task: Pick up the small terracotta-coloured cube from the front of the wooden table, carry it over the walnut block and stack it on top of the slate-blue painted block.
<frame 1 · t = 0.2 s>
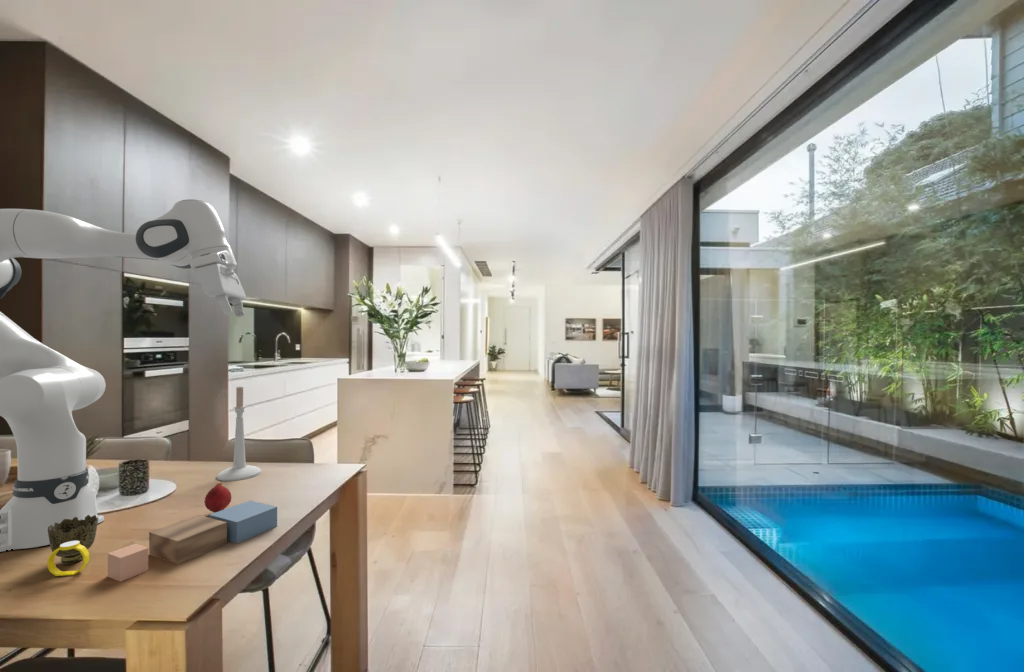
hand: (235, 315, 113), 52 cm above the table, tool tilted 20°, fingers open, 8 cm apart
cup: (73, 561, 91), on the table
candlestick: (239, 475, 148), on the table
slate-blue block: (243, 531, 105), on the table
walnut block: (189, 550, 96), on the table
onion: (218, 514, 115), on the table
watch: (68, 575, 85), on the table
terracotta cube: (128, 573, 86), on the table
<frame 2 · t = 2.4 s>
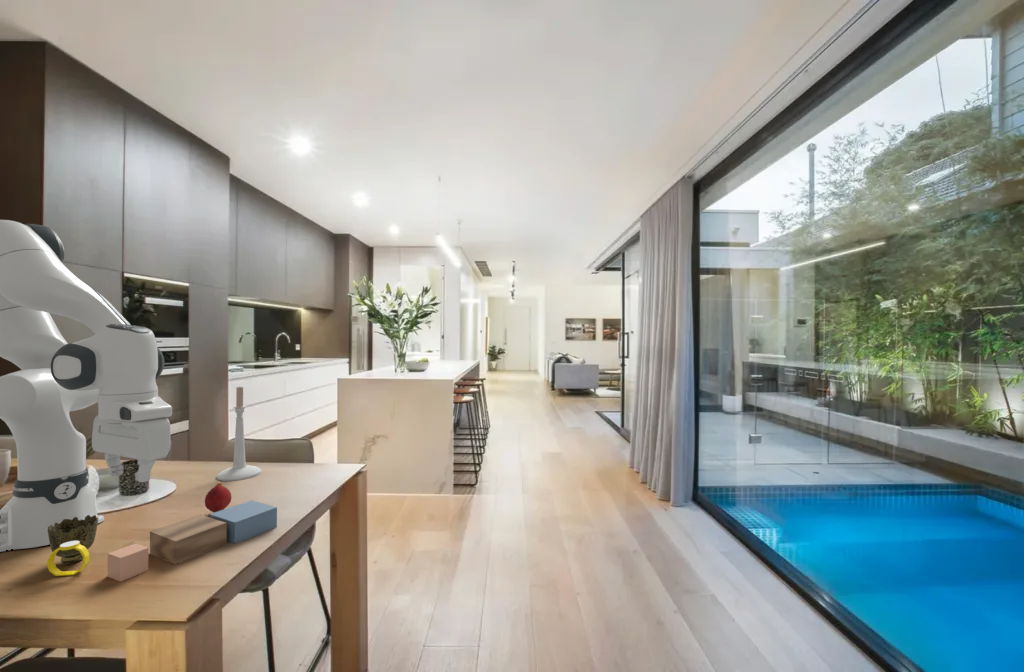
hand: (129, 478, 86), 18 cm above the table, tool pointing down, fingers open, 8 cm apart
nothing on the table moved.
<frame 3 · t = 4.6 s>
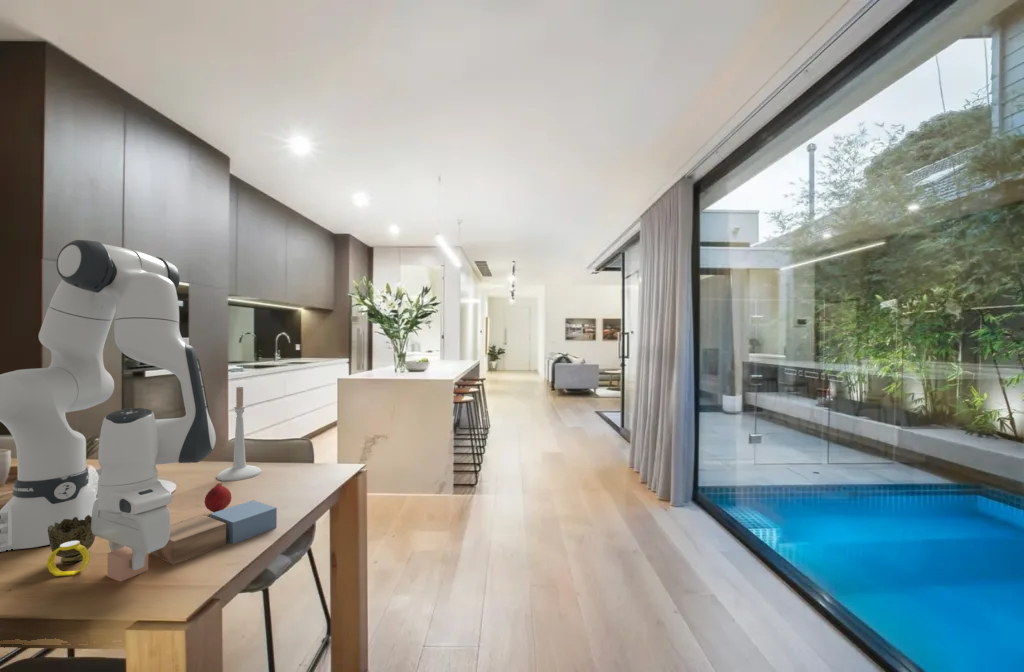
hand: (128, 564, 86), 2 cm above the table, tool pointing down, fingers closed on terracotta cube, 4 cm apart
terracotta cube: (128, 573, 86), on the table, touching gripper
everything else where it was.
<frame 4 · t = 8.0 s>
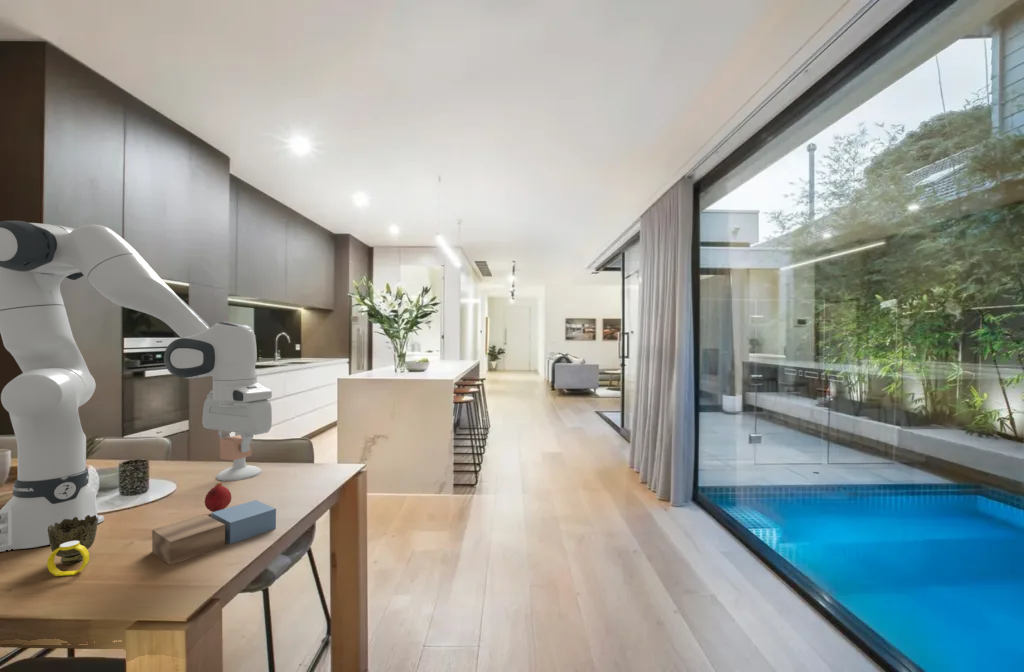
hand: (235, 450, 103), 20 cm above the table, tool pointing down, fingers closed on terracotta cube, 4 cm apart
terracotta cube: (236, 457, 103), point 18 cm above the table, touching gripper
everything else where it was.
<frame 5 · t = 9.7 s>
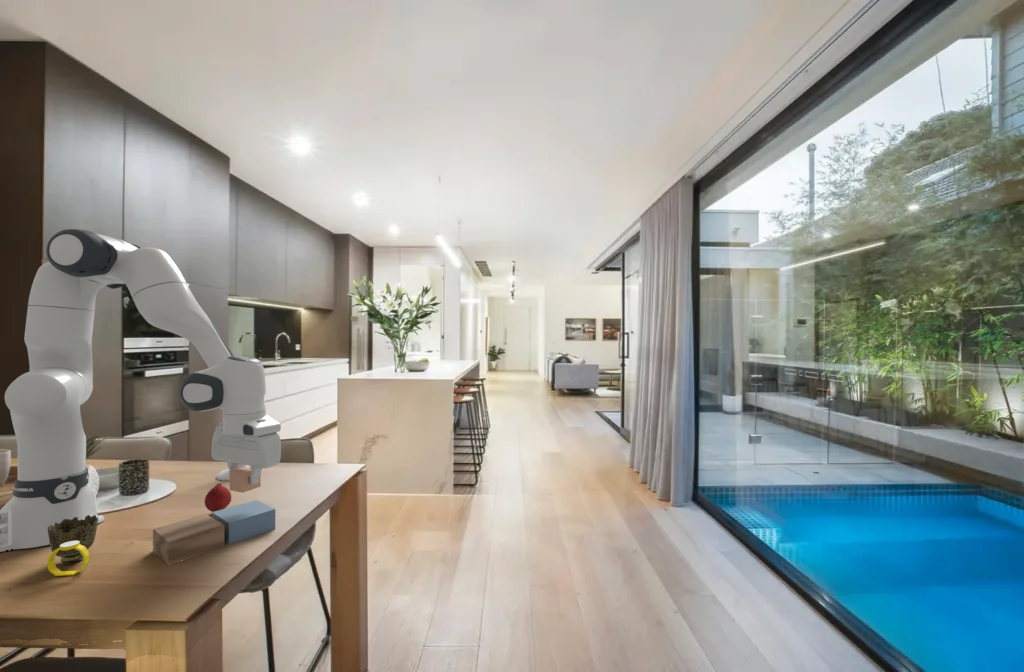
hand: (245, 481, 105), 11 cm above the table, tool pointing down, fingers closed on terracotta cube, 4 cm apart
terracotta cube: (245, 488, 105), point 10 cm above the table, touching gripper
everything else where it was.
when the fingers open (8 cm above the table, at t = 11.1 s): terracotta cube drops 2 cm, point 5 cm above the table.
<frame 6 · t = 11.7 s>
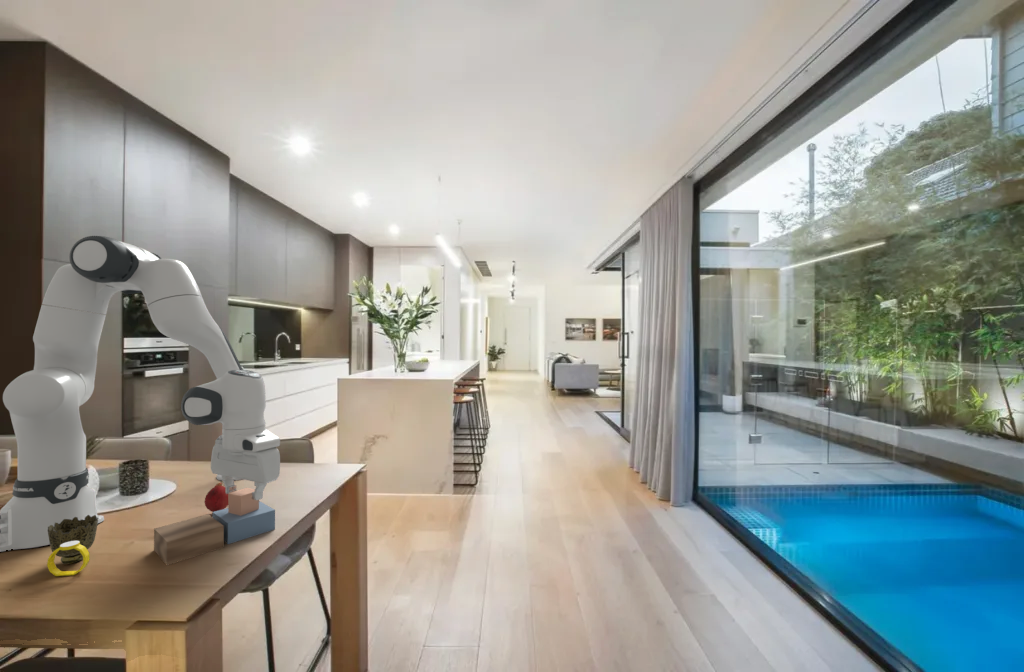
hand: (243, 496, 105), 8 cm above the table, tool pointing down, fingers open, 8 cm apart
terracotta cube: (243, 510, 105), point 5 cm above the table
everything else where it was.
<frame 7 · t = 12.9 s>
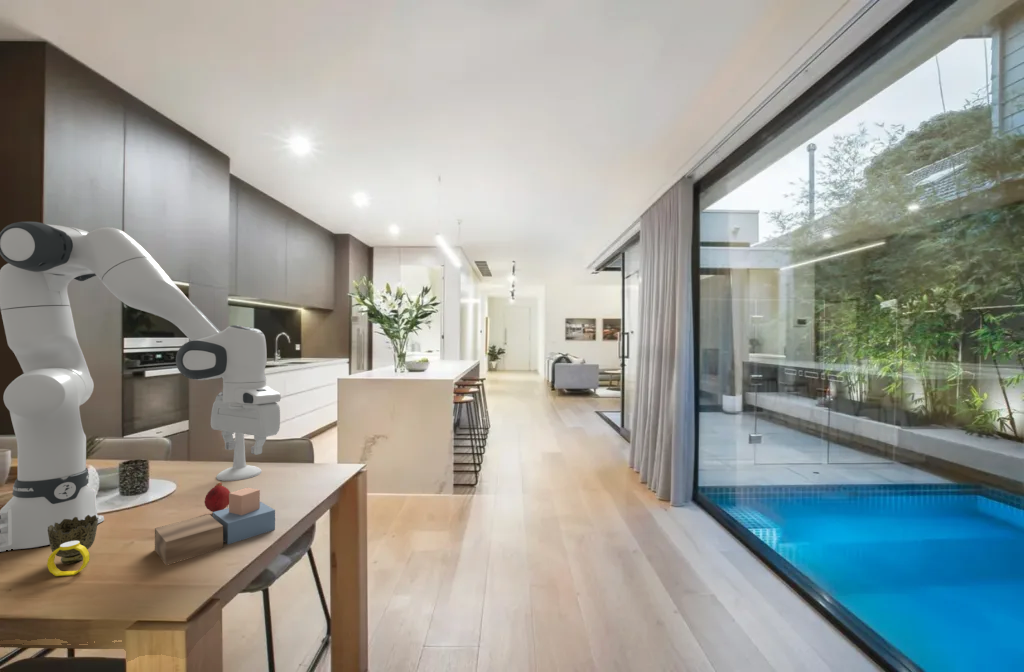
hand: (243, 451, 105), 19 cm above the table, tool pointing down, fingers open, 8 cm apart
slate-blue block: (244, 532, 105), on the table, touching terracotta cube
terracotta cube: (244, 510, 105), point 5 cm above the table, touching slate-blue block
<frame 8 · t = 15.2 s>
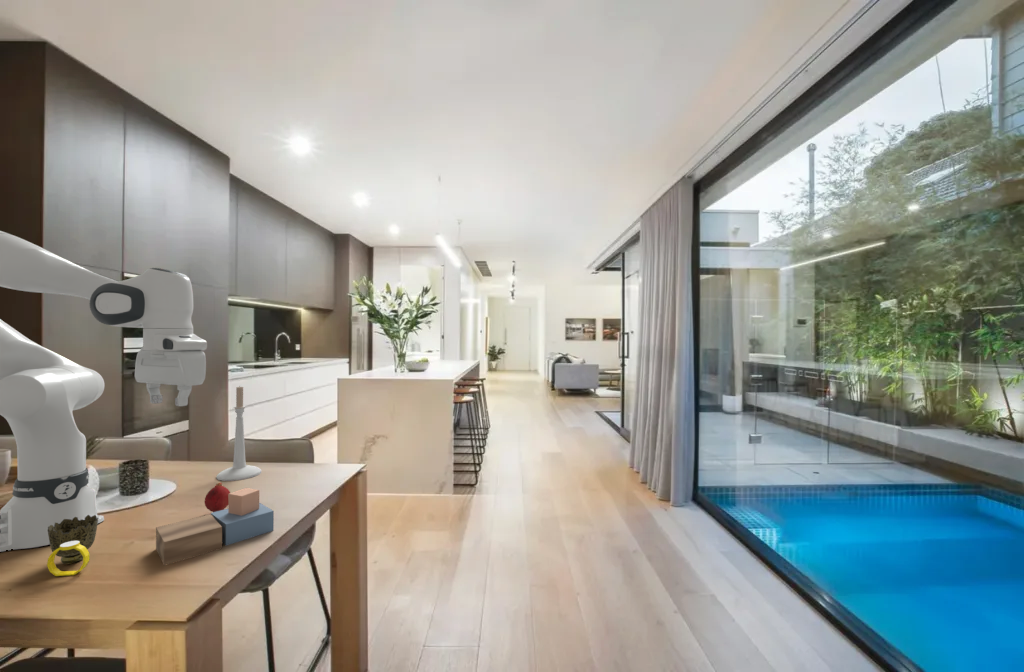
hand: (168, 404, 98), 31 cm above the table, tool pointing down, fingers open, 8 cm apart
at the end: terracotta cube inside the target area on the slate-blue block (0.6 cm from its centre), point 5.0 cm above the slate-blue block's base; terracotta cube tilted 0°; the gripper is holding nothing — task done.
